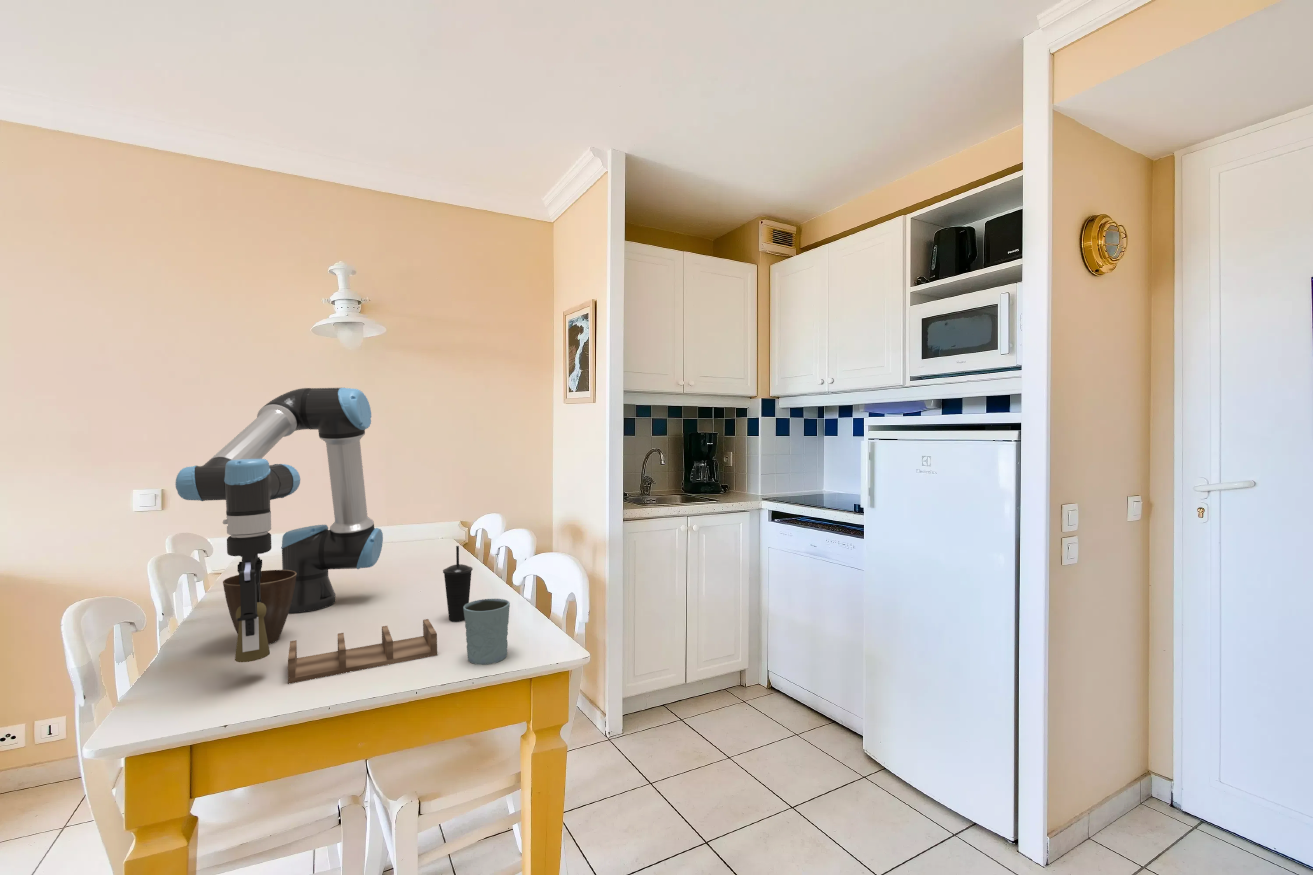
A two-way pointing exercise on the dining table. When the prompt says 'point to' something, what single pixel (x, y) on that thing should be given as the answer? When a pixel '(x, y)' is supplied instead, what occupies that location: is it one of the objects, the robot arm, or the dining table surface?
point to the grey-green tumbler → (486, 630)
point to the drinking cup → (457, 588)
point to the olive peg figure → (263, 642)
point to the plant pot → (266, 599)
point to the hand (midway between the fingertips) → (252, 645)
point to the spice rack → (361, 655)
